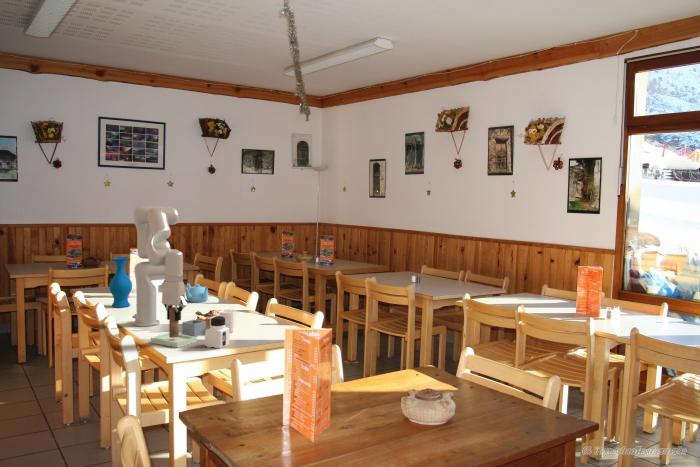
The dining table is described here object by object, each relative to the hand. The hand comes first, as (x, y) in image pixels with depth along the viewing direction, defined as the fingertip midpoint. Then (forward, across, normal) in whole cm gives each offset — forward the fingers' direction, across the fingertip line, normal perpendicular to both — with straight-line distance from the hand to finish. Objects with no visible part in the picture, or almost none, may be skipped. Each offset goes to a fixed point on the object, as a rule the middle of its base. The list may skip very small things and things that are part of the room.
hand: (174, 319), depth 270 cm
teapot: (+10, -62, +80) cm, 102 cm away
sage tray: (+10, 0, 0) cm, 10 cm away
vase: (+10, -85, +43) cm, 96 cm away
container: (+11, +20, +6) cm, 23 cm away
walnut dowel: (+8, 0, 0) cm, 8 cm away
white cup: (+11, +6, +29) cm, 32 cm away
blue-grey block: (+10, -3, +16) cm, 19 cm away
